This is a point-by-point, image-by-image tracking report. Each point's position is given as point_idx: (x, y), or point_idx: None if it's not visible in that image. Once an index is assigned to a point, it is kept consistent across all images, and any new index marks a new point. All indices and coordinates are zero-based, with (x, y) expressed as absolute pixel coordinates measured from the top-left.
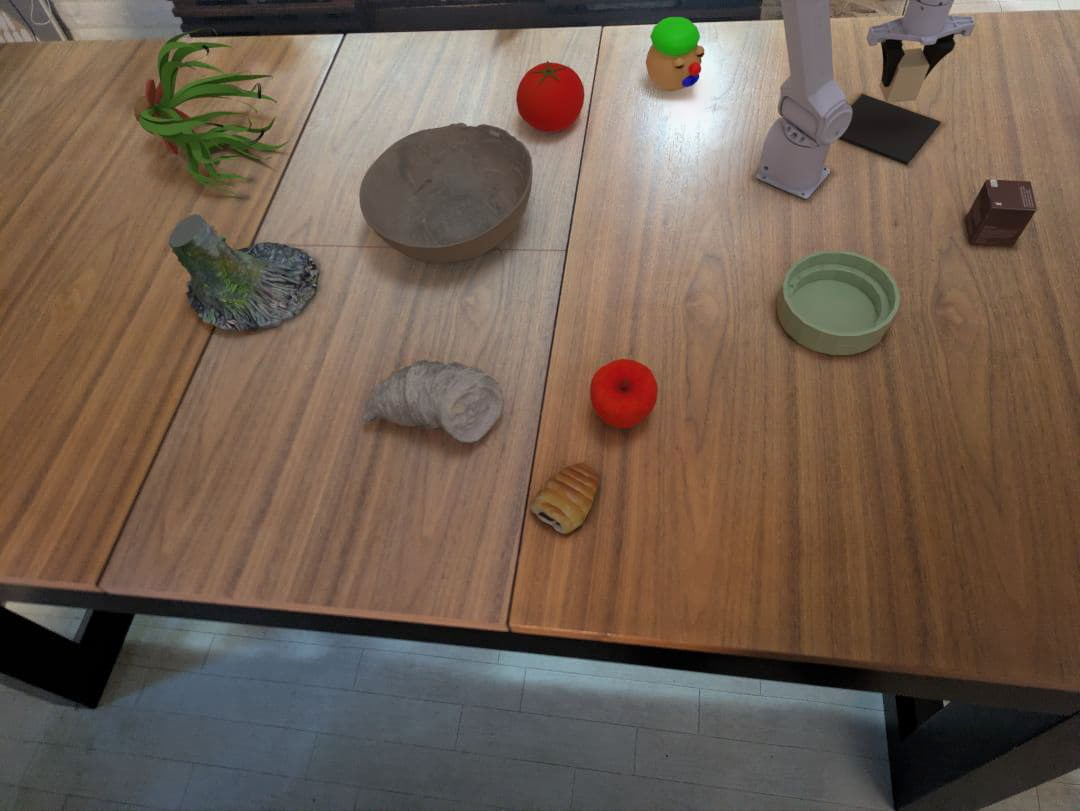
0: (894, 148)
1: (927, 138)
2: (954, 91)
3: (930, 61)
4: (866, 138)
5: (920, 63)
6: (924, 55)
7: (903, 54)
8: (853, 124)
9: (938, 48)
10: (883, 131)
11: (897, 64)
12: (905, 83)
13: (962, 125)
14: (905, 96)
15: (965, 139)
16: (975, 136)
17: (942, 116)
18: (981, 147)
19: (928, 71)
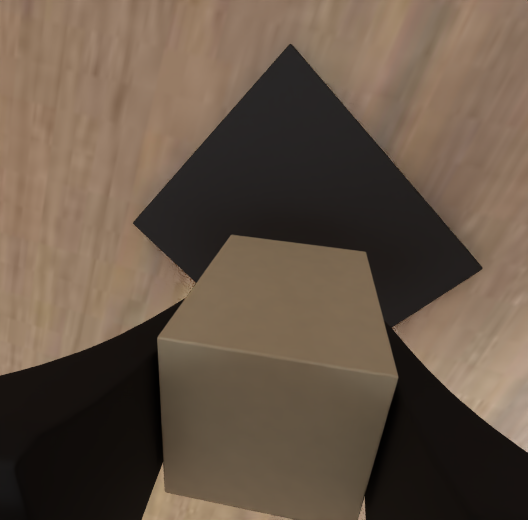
0: (308, 131)
1: (188, 159)
2: (75, 327)
3: (142, 369)
4: (377, 205)
5: (214, 376)
6: (163, 434)
7: (492, 516)
8: (387, 277)
9: (40, 461)
10: (310, 223)
11: (418, 414)
12: (303, 290)
13: (78, 200)
14: (283, 250)
15: (80, 138)
16: (51, 144)
17: (122, 250)
18: (42, 88)
19: (161, 321)
